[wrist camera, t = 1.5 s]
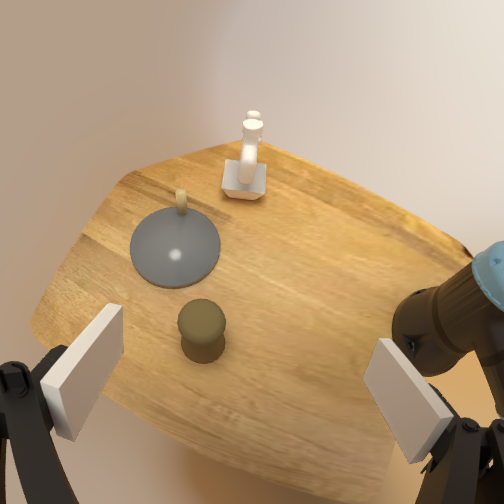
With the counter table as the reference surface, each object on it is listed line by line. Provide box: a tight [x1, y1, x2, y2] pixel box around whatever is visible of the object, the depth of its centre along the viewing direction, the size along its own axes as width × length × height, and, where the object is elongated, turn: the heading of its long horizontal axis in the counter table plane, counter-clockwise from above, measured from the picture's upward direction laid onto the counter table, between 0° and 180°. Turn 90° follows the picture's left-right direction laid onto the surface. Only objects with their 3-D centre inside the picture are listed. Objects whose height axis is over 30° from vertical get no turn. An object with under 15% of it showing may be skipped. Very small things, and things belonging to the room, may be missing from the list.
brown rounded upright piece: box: [177, 299, 226, 364], centre depth 35 cm, size 6×6×11 cm
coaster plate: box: [130, 188, 220, 289], centre depth 44 cm, size 14×14×6 cm
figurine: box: [221, 111, 266, 200], centre depth 48 cm, size 7×9×15 cm
